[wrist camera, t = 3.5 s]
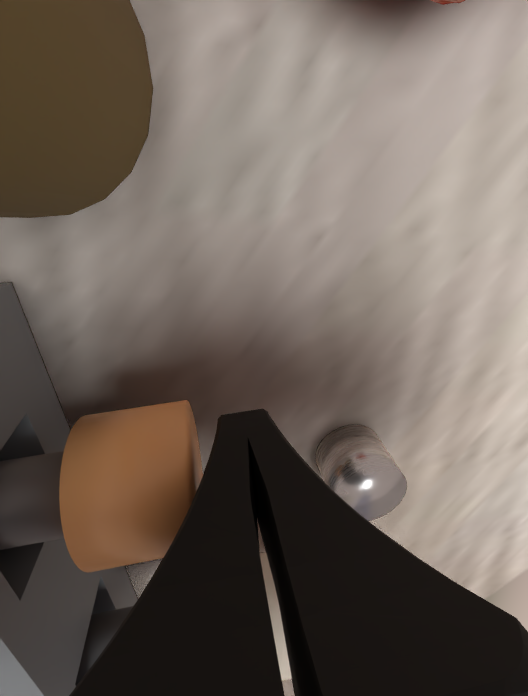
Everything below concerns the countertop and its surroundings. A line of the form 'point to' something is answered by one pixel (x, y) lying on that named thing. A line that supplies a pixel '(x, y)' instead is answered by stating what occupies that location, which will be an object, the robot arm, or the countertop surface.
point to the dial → (361, 471)
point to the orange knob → (107, 487)
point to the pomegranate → (447, 1)
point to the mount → (46, 557)
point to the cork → (69, 103)
